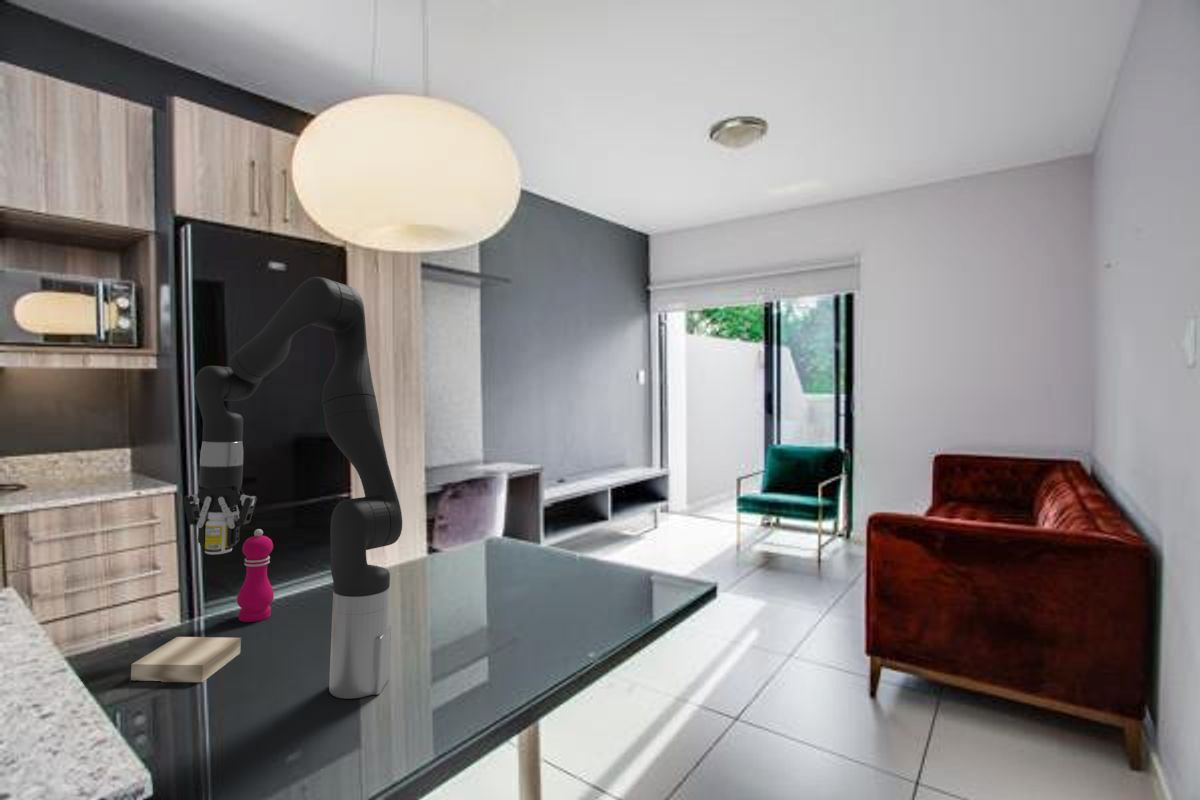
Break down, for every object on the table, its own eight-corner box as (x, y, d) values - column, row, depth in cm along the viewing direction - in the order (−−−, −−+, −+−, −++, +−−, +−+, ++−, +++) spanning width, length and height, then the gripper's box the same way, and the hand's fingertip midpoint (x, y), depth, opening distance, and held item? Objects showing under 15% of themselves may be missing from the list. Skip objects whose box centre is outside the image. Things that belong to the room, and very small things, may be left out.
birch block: (240, 653, 115) (240, 637, 115) (202, 682, 103) (203, 665, 103) (176, 652, 114) (177, 636, 114) (130, 681, 102) (131, 664, 102)
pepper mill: (267, 609, 138) (271, 524, 138) (277, 618, 133) (280, 530, 133) (232, 616, 133) (236, 528, 133) (240, 625, 128) (244, 534, 128)
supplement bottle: (227, 547, 125) (228, 508, 125) (235, 552, 122) (237, 511, 122) (201, 551, 121) (202, 510, 121) (209, 556, 118) (210, 514, 118)
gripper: (266, 462, 126) (263, 542, 125) (197, 460, 125) (193, 540, 125) (247, 465, 118) (244, 550, 118) (173, 463, 117) (170, 549, 117)
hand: (218, 545), depth 121 cm, fingers closed on supplement bottle, 4 cm apart
